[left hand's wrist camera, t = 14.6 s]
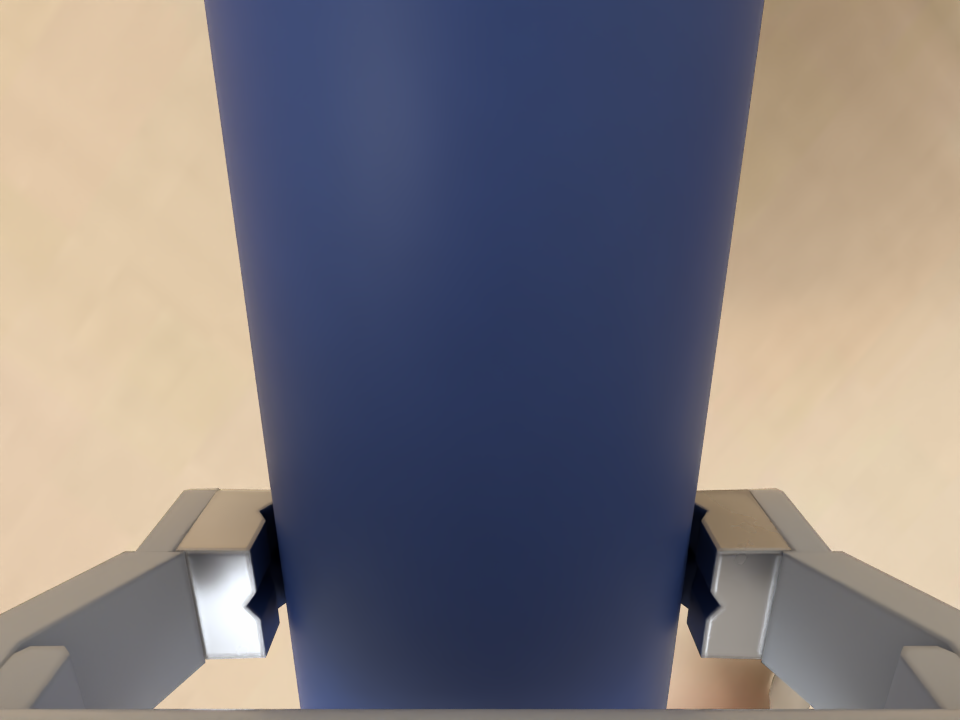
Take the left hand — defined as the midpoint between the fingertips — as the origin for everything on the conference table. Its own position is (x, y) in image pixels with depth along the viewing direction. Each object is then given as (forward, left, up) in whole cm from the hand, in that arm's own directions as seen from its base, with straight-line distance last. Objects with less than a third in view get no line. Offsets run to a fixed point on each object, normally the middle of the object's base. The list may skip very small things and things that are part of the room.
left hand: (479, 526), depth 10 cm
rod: (-2, +8, -3) cm, 9 cm away
